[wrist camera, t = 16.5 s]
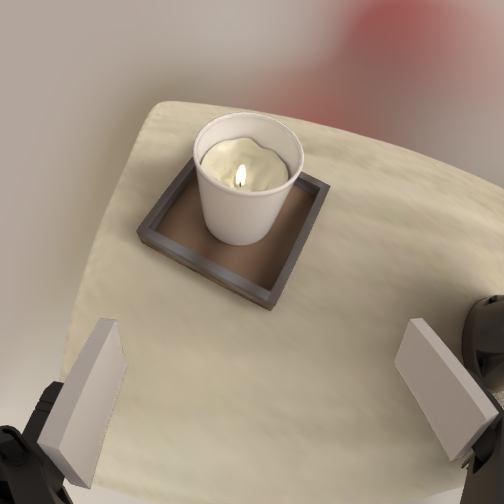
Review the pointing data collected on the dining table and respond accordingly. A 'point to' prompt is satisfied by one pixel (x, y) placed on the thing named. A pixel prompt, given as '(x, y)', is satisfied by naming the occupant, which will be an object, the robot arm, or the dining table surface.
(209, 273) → the socket base
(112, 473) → the dining table surface
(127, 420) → the dining table surface
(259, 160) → the candle holder
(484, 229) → the dining table surface
